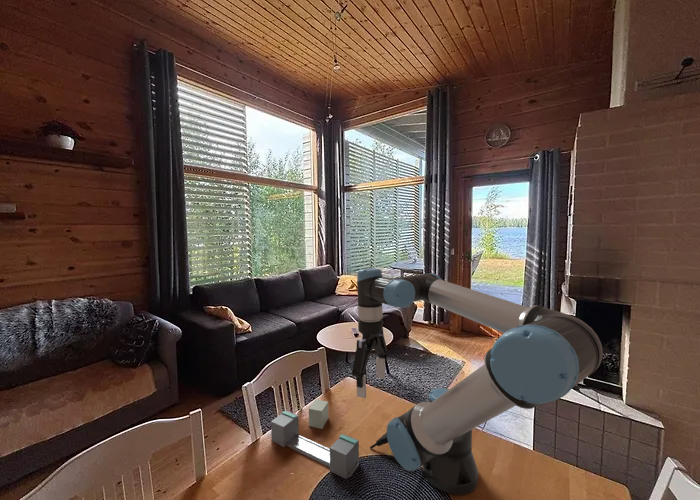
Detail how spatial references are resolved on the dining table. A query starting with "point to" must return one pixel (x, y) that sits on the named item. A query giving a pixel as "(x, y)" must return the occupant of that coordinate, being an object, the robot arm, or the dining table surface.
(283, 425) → the block
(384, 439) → the power plug
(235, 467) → the dining table surface
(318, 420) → the block
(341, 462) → the block
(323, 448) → the rail
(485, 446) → the dining table surface
